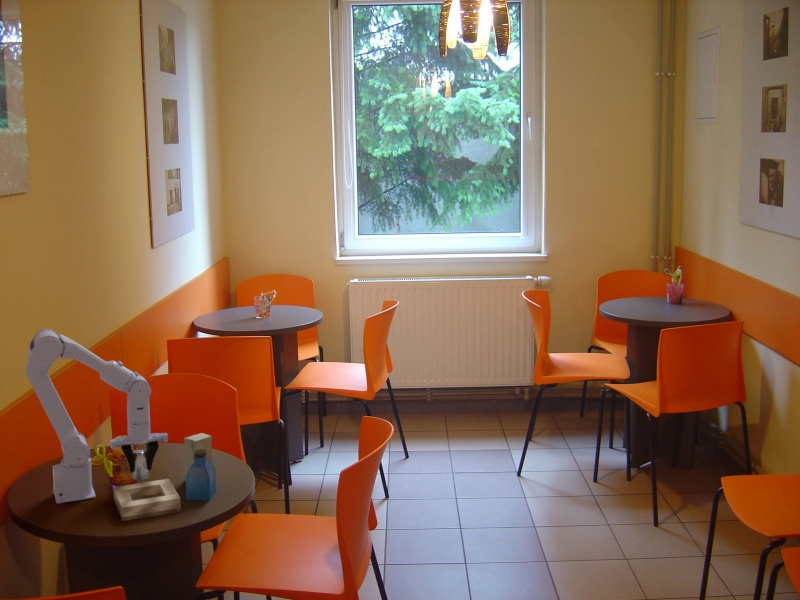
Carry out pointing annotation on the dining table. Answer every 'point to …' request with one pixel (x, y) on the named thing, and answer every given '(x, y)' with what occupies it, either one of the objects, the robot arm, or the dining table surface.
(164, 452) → the dining table surface
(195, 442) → the skincare box
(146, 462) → the metal pin
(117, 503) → the socket block
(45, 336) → the robot arm
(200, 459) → the perfume bottle
